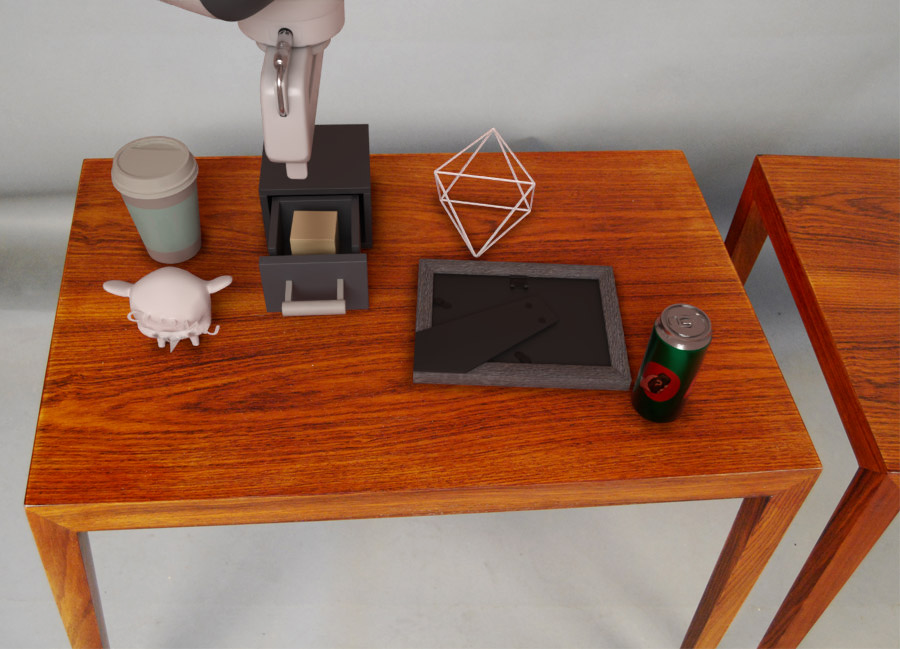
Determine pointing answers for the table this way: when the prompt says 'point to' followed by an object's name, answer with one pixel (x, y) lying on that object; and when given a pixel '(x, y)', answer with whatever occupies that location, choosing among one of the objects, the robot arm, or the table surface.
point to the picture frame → (519, 325)
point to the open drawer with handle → (314, 262)
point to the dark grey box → (326, 173)
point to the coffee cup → (161, 195)
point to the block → (315, 233)
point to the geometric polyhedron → (484, 204)
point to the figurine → (170, 304)
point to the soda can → (671, 363)
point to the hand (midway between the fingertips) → (302, 143)
